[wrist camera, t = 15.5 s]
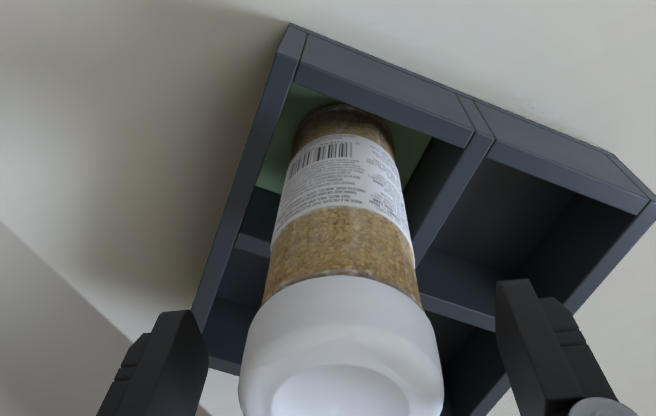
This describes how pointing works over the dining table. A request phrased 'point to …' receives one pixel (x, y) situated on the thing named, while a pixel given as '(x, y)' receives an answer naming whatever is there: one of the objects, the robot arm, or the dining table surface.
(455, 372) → the divided storage tray
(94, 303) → the dining table surface
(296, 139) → the sprinkles bottle
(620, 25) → the dining table surface
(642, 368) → the dining table surface
